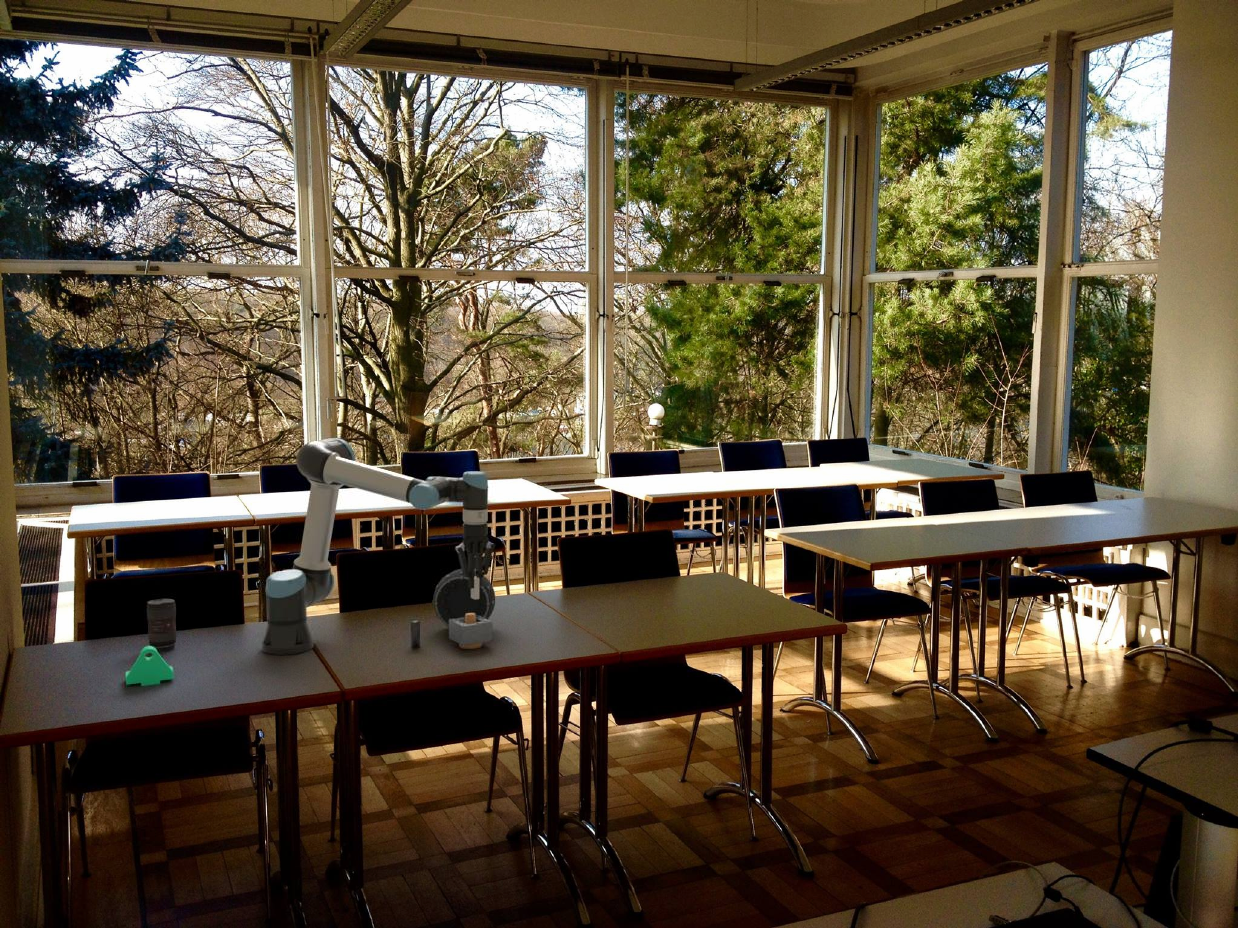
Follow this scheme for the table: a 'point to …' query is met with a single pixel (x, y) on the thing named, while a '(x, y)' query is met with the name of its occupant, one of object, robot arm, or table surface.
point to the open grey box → (470, 630)
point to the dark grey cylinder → (161, 624)
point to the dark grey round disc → (462, 598)
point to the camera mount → (149, 669)
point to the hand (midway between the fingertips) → (475, 598)
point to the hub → (468, 619)
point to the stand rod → (415, 634)
